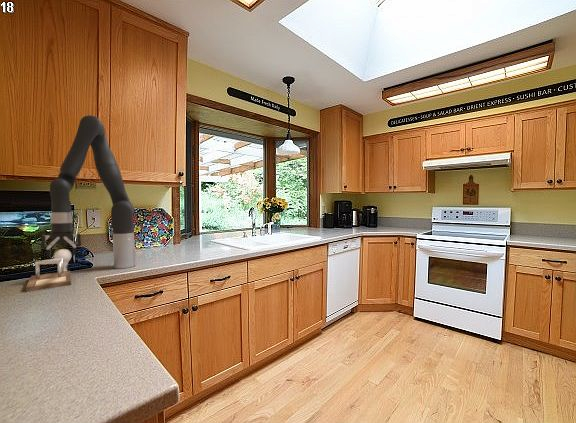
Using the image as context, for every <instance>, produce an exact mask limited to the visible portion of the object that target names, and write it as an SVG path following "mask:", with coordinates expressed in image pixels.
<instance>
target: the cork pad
mask: <svg viewBox="0 0 576 423" xmlns="http://www.w3.org/2000/svg"><path fill="white" fill-rule="evenodd" d="M59 282H66V276H65V277H58V278H50V279H43V280H37V281H36V284H35V286H39V285H45V284H52V283H59Z"/></svg>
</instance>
